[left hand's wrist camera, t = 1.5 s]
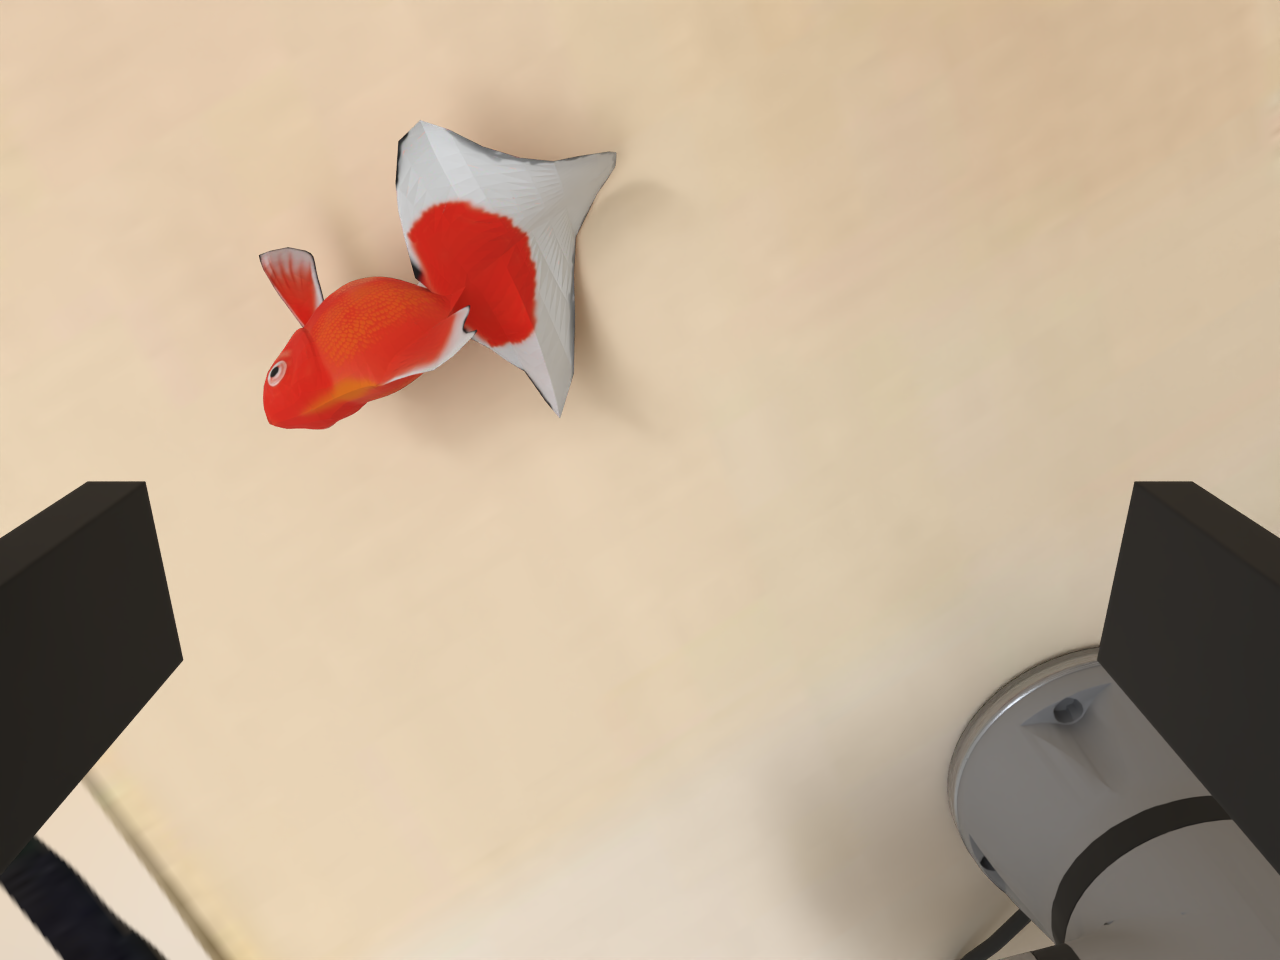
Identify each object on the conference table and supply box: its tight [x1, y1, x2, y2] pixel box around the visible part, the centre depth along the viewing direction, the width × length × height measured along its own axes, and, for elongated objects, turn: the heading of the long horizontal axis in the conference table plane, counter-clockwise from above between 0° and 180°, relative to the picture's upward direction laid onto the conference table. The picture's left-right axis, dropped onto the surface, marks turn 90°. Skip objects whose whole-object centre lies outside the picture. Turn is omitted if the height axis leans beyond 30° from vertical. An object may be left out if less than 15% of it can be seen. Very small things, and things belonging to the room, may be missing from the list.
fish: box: [259, 120, 616, 429], centre depth 34 cm, size 11×16×10 cm
